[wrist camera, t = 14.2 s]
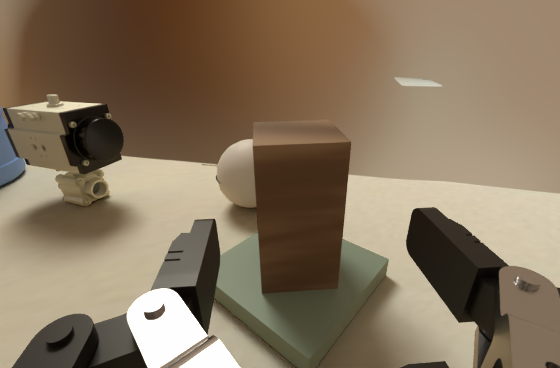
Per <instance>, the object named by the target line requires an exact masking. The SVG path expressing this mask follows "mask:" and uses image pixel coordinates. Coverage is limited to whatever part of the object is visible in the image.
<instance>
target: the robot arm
mask: <svg viewBox="0 0 560 368" xmlns="http://www.w3.org/2000/svg"><path fill="white" fill-rule="evenodd" d="M406 246H407V250H408V253H409V255H410V256H411V258H412V259H413V260H414V262H415V263H416V265H417V266H418V267H419V269H420V270H421V271H422V273H423V274H424V275H425V277H426V278H427V280H428V281H429V282H430V284H431V285H432V286H433V288H434V289H435V290H436V292H437V293H438V295H439V296H440V297H441V299H442V300H443V301H444V303H445V304H446V305H447V307H448V308H449V310H450V311H451V312H452V314H453V315H454V316H455V318H456V319H457V320H458V322H459V323H461V322H474V321H475V323H476V324H477V325H478V326H477V328H476V331H475V340H474V359H473V368H560V288H557V287H555V285H554V284H553V283H552V282H551V281H549V280H548V279H547V278H545V277H544V276H542V275H540V274H538V273H536V272H534V271H532V270H529V269H526V268H522V267H517V266H509V265H507V264H506V263H505V262H504V261H503V260H502V259H500V258H499V257H498V256H497V255H496V254H495V253H494V252H492V251H491V250H490V249H489V248H488V247H487V246H485V245H484V244H483V243H480V240H479V239H477V238H476V237H475V236H472V233H470V232H469V231H468V230H467V229H466V228H465V227H464V226H462V225H460V224H458V223H456V222H455V221H453V220H451V219H448V218H447V217H446V216H445V215H443V214H442V213H441V212H440V211H439V210H438V209H437V208H434V207H432V208H416V209H414V210H413V212H412V215H411V220H410V225H409V230H408V235H407V240H406ZM164 260H165V261H164V262H163V264H162V266H161V268H160V271H159V273H158V275H157V277H156V279H155V282H154V284H153V286H152V288H151V291H150V292H148V293H146V294H144V295H142V296H141V297H139V298H138V299H137V300H136V301H135V302H134V303H133V304H132V305H131V307H130V308H129V310H128V312H127V313H126V314H124V315H121V316H118V317H115V318H112V319H109V320H106V321H103V322H99V323H96V324H94V323H93V321H92V319H91V318H90V317H89V316H88V315H85V314H72V315H68V316H65V317H62V318H59V319H57V320H55V321H54V322H52V323H50V324H49V325H47V326H46V327H44V328H43V329H42V330H41V331H39V332H38V333H37V334H36V335H35V337H34V338H33V339H32V340H31V342H30V343H29V344H28V346H27V347H26V349H25V350H24V351H23V353H22V354H21V356H20V357H19V358H18V360H17V361H16V363H15V364H14V365H13V367H12V368H240V367H239V366H238V364H237V363H236V361H235V360H234V359H233V357H232V356H231V355H230V353H229V352H228V351H227V349H226V348H225V347H224V345H223V344H222V343H221V341H220V340H219V339H218V338H217V337H216V336H214V335H213V336H211V337H210V338H209V337H208V336H207V335H208V329H209V323H210V318H211V312H212V307H213V301H214V295H215V290H216V284H217V279H218V273H219V268H220V248H219V241H218V234H217V227H216V221H215V219H201V220H195V221H194V224H193V226H192V229H191V232H190V233H181V234H180V235H179V236H178V237H177V238H176V239H175V240H174V241H173V242H172V244H171V246H170V248H169V250H168V253H167V255H166V257H165V259H164ZM401 368H449V367H448V365H447V364H446V362H445V361H443V362H431V363H419V364H408V365H406V366H403V367H401Z"/></svg>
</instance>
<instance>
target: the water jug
mask: <svg viewBox="0 0 560 368" xmlns="http://www.w3.org/2000/svg"><path fill="white" fill-rule="evenodd" d="M2 113H3V112H2V109H1V106H0V186H2V185H4V184H6V183H8V182H10V181H12V180H13V179H15V178H17V177H18V176H19V175H20V174H21V173H22V172H23V171H24V169H25V162H24V159H23V158H18V157H16V155H15V153H14V150H13V148H12V146H11V144H10V141H9V139H8V137H7V135H6V132H5V130H4V129H6V128H8V126H7V124H6V121H5V119H4V117H3V114H2Z"/></svg>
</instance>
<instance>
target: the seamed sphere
mask: <svg viewBox="0 0 560 368" xmlns="http://www.w3.org/2000/svg"><path fill="white" fill-rule="evenodd" d="M202 165H205V164H202ZM209 166H217V175H216V179H217V181H218V183H219V186H220V190H221V191H222V192H223V194H224V195H225V196H226V198H228V199H229V200H230V201H231V202H233V203H235V204H237V205H239V206H241V207H247V208H254V207H256V193H255V177H254V161H253V140H242V141H240V142H238V143H235V144H233V145H232V146H230V147H229V148H228V149H227V150H226V151H225V152H224V153H223V155H222V156H221V158H220V161H219V163H218V165H209Z"/></svg>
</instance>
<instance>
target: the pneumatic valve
mask: <svg viewBox="0 0 560 368" xmlns="http://www.w3.org/2000/svg"><path fill="white" fill-rule="evenodd" d="M46 97H47V99H48V101H45V102H39V103H32V104H26V105H20V106H14V107H8V108H3V110H4V113H5V115H6V117H7V119H8V122H9V124H8V128H6V129H4V130H5V132H6V135H7V137H8V139H9V141H10V144H11V146H12V148H13V150H14V153H15V155H16V157H18V158H24V159H25V162H26V164H27V165H32V166H38V167H43V168H49V169H55V170H56V171H66V172H68V173H67V174H65V175H62V174H59V175H57V176H56V182H58V183H59V184H58V186H59V188H60V189H61V191H62V192H63V194H64V196H63V200H64V201H65V202H69V203H73V204H78V205H82V206H88V205H90V204H91V202H92V201H95V200H97V199H99V198H102V197H106V196H107V195H109V194H110V191H109V190H108V184H107V182H106V181H104V179H103V176H104V173H103V171H102V170H99V169H100V168H102V167H104V166H107V165H109V164H112V163H114V162H117V161H119V160H121V159H122V158H121V154H120V152H121V150H122V148H123V143H124V137H123V133H122V130H121V129H120V127H119V126H118V125H117V124H116V123H115V122H114V121H113V120H111V115H110V114H109V111H108V107H107V104H92V103H77V102H76V103H75V102H60V101H59V98H58V95H53V94H52V95H47V96H46Z"/></svg>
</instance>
